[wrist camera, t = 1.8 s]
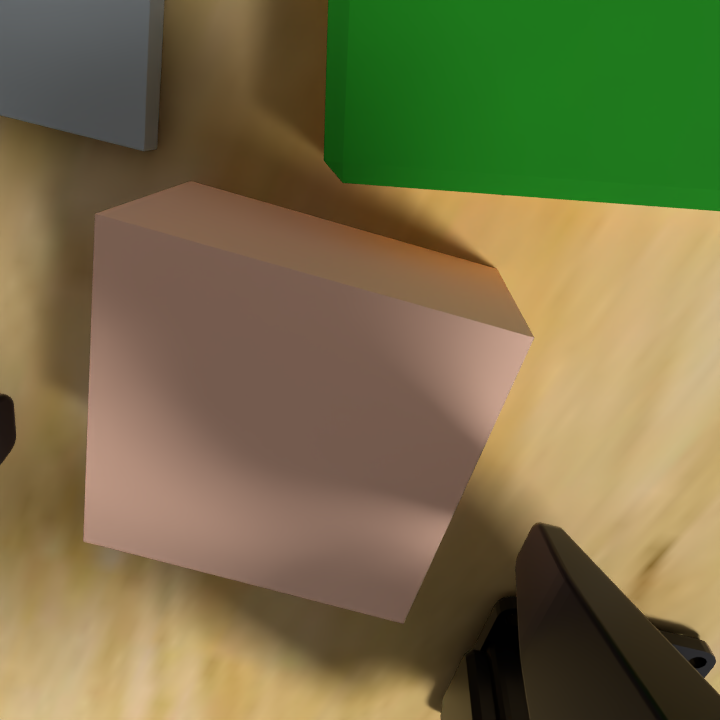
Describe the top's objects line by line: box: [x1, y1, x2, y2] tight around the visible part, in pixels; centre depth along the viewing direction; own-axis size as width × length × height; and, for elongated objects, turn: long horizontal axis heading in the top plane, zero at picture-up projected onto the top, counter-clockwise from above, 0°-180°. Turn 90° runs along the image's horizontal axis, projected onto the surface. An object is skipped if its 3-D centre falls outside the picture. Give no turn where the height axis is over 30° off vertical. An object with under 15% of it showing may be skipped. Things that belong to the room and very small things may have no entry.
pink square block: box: [83, 181, 534, 624], centre depth 11 cm, size 7×7×4 cm
